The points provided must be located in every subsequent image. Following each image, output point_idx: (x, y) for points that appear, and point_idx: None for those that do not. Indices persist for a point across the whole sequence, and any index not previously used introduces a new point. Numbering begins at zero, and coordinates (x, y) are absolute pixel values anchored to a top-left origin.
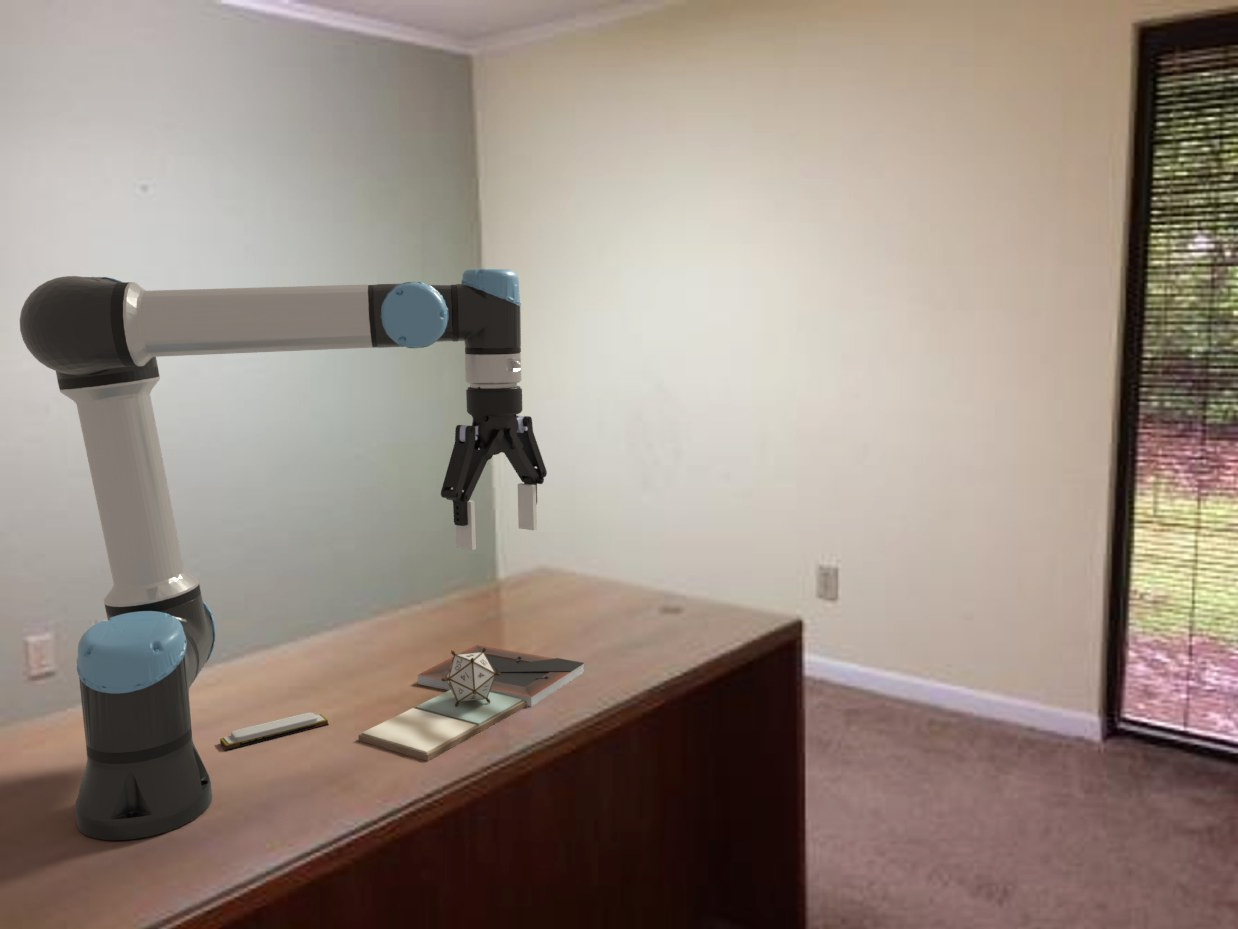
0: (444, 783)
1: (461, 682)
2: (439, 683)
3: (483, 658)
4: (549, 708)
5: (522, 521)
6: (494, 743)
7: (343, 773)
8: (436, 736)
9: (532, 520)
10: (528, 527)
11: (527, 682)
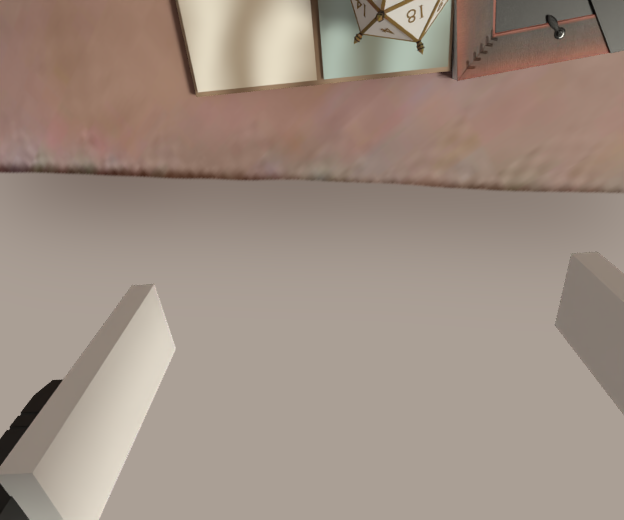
0: (175, 167)
1: (353, 3)
2: None
3: (426, 2)
4: (459, 110)
5: (584, 295)
6: (304, 133)
7: (80, 15)
8: (243, 58)
9: (580, 349)
10: (564, 309)
11: (524, 14)
